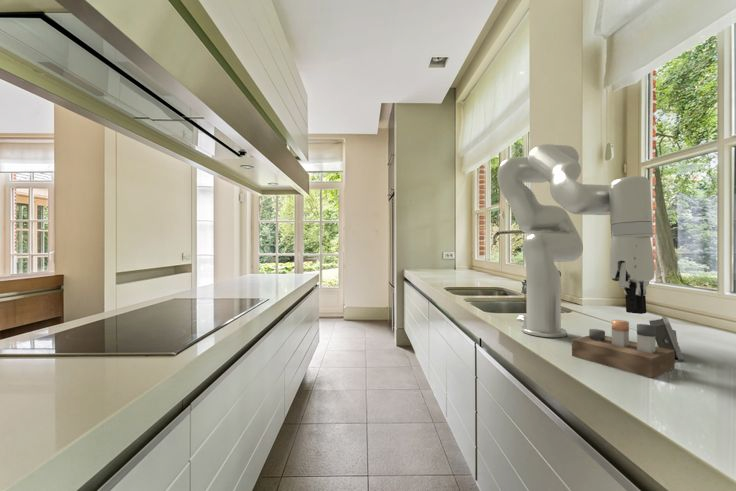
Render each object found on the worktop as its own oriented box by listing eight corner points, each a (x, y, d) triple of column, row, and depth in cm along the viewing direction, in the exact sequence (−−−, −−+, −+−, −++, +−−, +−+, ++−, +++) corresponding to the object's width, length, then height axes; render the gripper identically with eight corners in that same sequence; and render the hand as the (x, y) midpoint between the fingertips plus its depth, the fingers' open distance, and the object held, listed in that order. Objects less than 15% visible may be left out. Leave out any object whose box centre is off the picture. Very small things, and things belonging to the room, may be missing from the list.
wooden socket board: (571, 355, 82) (571, 339, 82) (596, 348, 87) (596, 333, 87) (651, 378, 68) (651, 358, 68) (674, 368, 73) (674, 350, 73)
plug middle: (609, 345, 78) (608, 320, 78) (616, 343, 80) (615, 319, 80) (624, 348, 75) (624, 323, 75) (631, 346, 77) (631, 321, 77)
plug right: (634, 351, 74) (633, 325, 74) (641, 348, 75) (640, 323, 75) (651, 355, 71) (651, 328, 71) (658, 352, 73) (658, 326, 73)
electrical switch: (684, 362, 77) (678, 322, 78) (655, 359, 81) (649, 321, 81) (679, 352, 85) (674, 315, 85) (653, 350, 88) (648, 315, 89)
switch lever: (586, 353, 83) (586, 330, 83) (593, 351, 84) (593, 328, 84) (600, 357, 80) (600, 333, 80) (607, 354, 81) (607, 331, 81)
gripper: (629, 234, 82) (633, 308, 81) (595, 232, 75) (599, 313, 74) (667, 231, 76) (672, 312, 75) (634, 228, 69) (639, 318, 68)
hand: (636, 312), depth 74 cm, fingers closed
